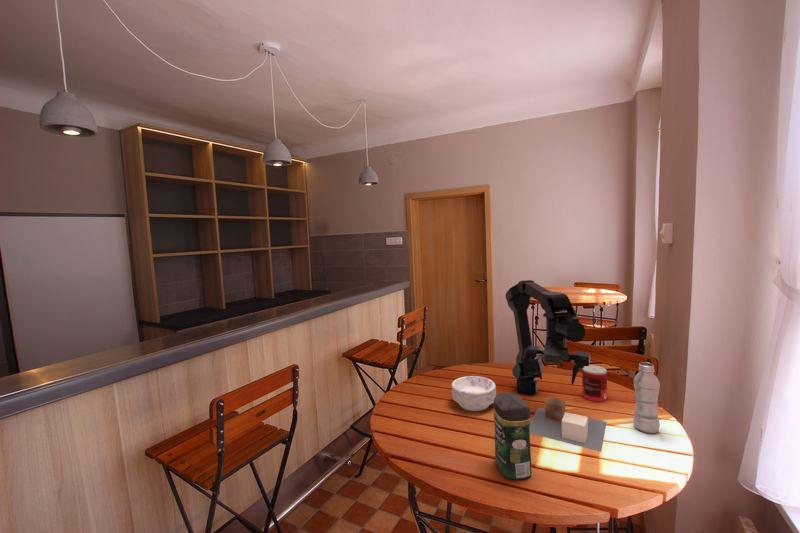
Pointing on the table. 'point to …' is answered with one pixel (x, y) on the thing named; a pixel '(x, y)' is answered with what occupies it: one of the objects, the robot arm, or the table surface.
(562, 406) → the walnut block
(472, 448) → the table surface
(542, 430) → the build mat
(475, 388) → the paper bowls
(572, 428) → the cream block
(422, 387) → the table surface
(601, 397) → the canned food
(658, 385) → the plastic bottle
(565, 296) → the robot arm
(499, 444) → the coffee jar
